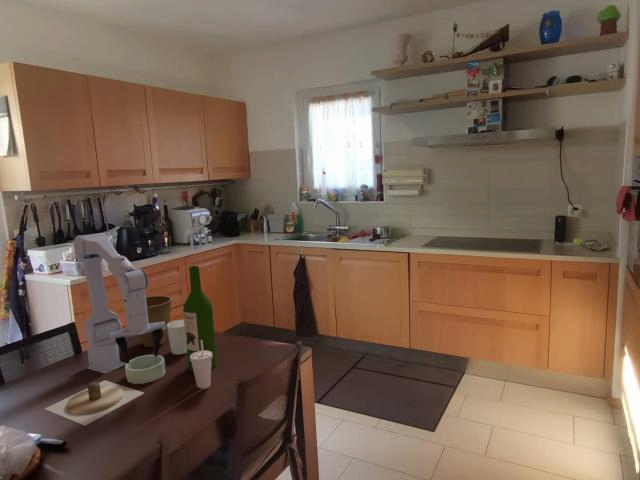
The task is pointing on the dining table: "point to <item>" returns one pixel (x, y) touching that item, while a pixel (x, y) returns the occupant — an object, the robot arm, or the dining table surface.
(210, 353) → the smoothie
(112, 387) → the lid
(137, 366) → the bowl
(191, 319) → the wine bottle
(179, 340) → the white cup
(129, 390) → the mat
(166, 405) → the dining table surface
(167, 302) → the plant pot
